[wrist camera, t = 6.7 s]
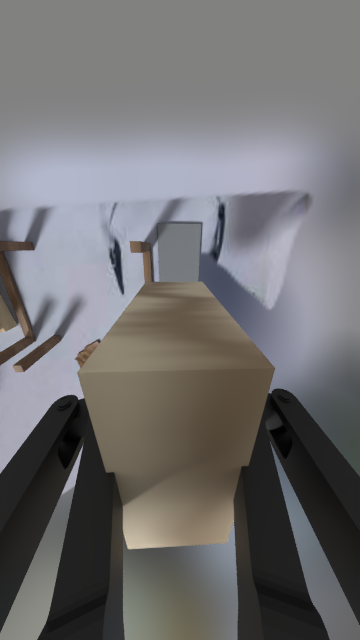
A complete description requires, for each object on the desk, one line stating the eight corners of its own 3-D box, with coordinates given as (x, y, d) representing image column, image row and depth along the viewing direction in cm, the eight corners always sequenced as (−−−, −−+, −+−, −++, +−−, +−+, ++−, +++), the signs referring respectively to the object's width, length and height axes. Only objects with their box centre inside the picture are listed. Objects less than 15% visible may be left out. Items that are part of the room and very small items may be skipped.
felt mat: (162, 350, 37) (162, 351, 37) (157, 223, 28) (157, 223, 27) (194, 350, 37) (194, 351, 37) (200, 224, 28) (201, 223, 28)
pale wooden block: (153, 379, 20) (128, 549, 9) (146, 281, 15) (77, 372, 4) (196, 377, 20) (227, 542, 9) (201, 281, 15) (275, 367, 4)
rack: (-18, 341, 34) (-84, 374, 25) (-69, 241, 27) (-185, 238, 18) (155, 338, 36) (149, 368, 27) (149, 243, 29) (140, 241, 20)
